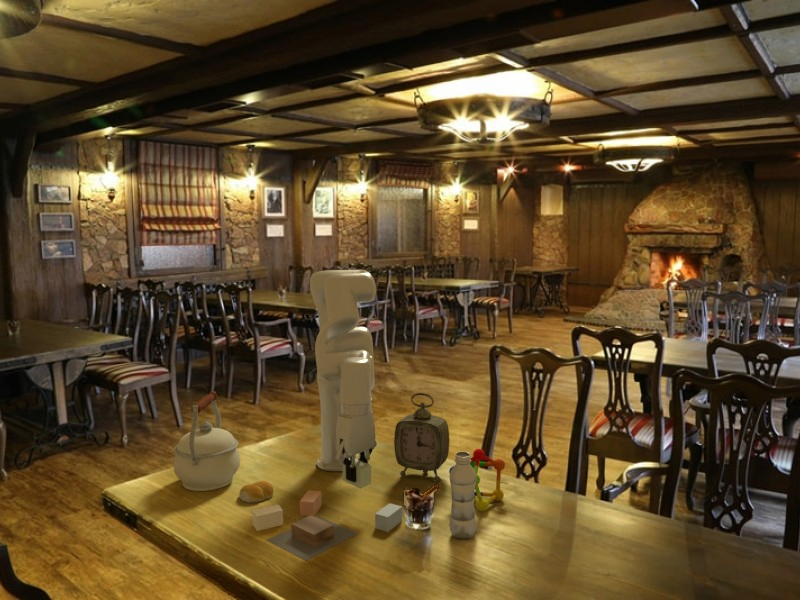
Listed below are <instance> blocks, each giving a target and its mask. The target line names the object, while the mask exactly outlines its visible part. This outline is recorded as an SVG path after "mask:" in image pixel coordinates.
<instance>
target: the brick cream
mask: <svg viewBox="0 0 800 600" xmlns="http://www.w3.org/2000/svg"><path fill="white" fill-rule="evenodd" d="M251 513H252V526H253V527H254V529H255V530H256V531H257V532H258V531H262V530H267V529H271V528H276V527H279V526H283V525H284V510H283V509H282V507H281V506H280V505H279V504H274V505H270V506H265V507H260V508H256V509H252V511H251Z"/></svg>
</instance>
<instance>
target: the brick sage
mask: <svg viewBox="0 0 800 600" xmlns="http://www.w3.org/2000/svg"><path fill="white" fill-rule="evenodd" d="M356 458H357V457H356ZM356 458H355V465H354V466H355V467H356V482H352V481H349V480H347V479H346V465H344V464H343V471H342V479H341V480H342V481H343V482H346V483H348V484H350V485H352V486H354V487H356V488H358V489H363V488H366V487H367V486H369V485H371V484H372V464H370V463H369V462H368V463H364V462H363V461H361V460H358V459H359V458H357V459H356ZM349 460H350V459H349Z"/></svg>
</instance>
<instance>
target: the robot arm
mask: <svg viewBox="0 0 800 600" xmlns="http://www.w3.org/2000/svg"><path fill="white" fill-rule="evenodd" d="M376 285H377V284H376V282H375V279H374V276H373V275H372V274H371V273H370V272H369V271H367V270H365V269H331V270H329V269H327V270H320V271H316V272H314V273H312V274H311V276H310V278H309V287H310V288H309V289H310V293H311V296H312V299H313V302H314V305H315V308H316V309H317V312H318V323H319V324H318V325H319V326H318V327H319V332H318V334H317V336H316V339H315V340H316V341H315V344H314V346H315V347H314V350H315V354H314V355H315V363H316V370H317V373H316V383H317V388H318V394H319V395H318V396H319V403H320V427H321V428H320V432H321V433H320V434H321V436H320V437H321V438H320V439H321V441H320V442H321V456H320V457H319V458H318V459H317V460H316V466H317V467H318V468H319V469H321V470H322V471H327V472H343V464H344V465H346V479H347V480H349V481H352V482H356V467H355V466H354V465H355V458H356V459H358V460H361V461H363V462H364V463H368V464H369V461H370V460H371V455H372V452H373V450H374V449H375V448H376V446H378V442H377V441H376V425H375V424H376V423H375V417H374V412H373V410H372V409H373V408H372V404H373V402H374V401H373V399H372V391H373V389H374V387H375V383H376V382H375V362H374V345H373V343H374V342H373V337H372V333H371V331H370V330H369V328H367V327H365V326H358V325H359V323H360V312H359V307H358V303H371V302H373V301H374V300H375V298H376V294H377V286H376ZM356 455H358V457H357V456H356ZM349 459H350V460H349Z"/></svg>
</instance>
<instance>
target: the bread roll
mask: <svg viewBox="0 0 800 600" xmlns="http://www.w3.org/2000/svg"><path fill="white" fill-rule="evenodd" d="M274 491H275V490H274V486H273V485H272V484H271V483H269V482H268V481H266V480H261V481H256V482H253V483H249V484H246V485H243V486H242V487H241V488H240V490H239V496H238V497H239V499H240V500H242V501H243V502H245V503H249V504H251V503H259V502H262V501H264V500H268V499H271V498H272V497H273V495H274Z"/></svg>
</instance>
